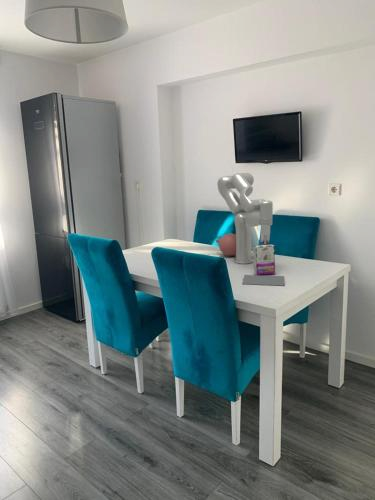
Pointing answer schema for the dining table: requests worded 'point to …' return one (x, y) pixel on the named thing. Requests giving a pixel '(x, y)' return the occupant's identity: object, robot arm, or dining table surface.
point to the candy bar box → (264, 259)
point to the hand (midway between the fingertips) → (265, 252)
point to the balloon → (227, 244)
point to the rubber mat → (263, 280)
